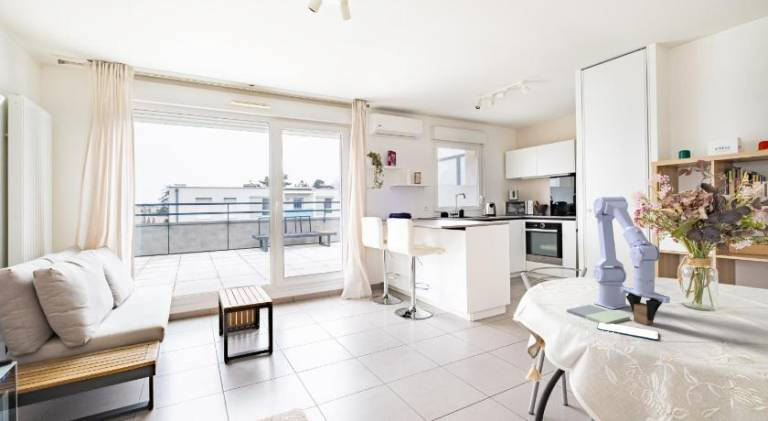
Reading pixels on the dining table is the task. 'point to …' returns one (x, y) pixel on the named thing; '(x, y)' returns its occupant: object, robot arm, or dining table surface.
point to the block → (641, 313)
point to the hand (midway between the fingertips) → (643, 317)
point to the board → (598, 314)
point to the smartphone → (629, 331)
